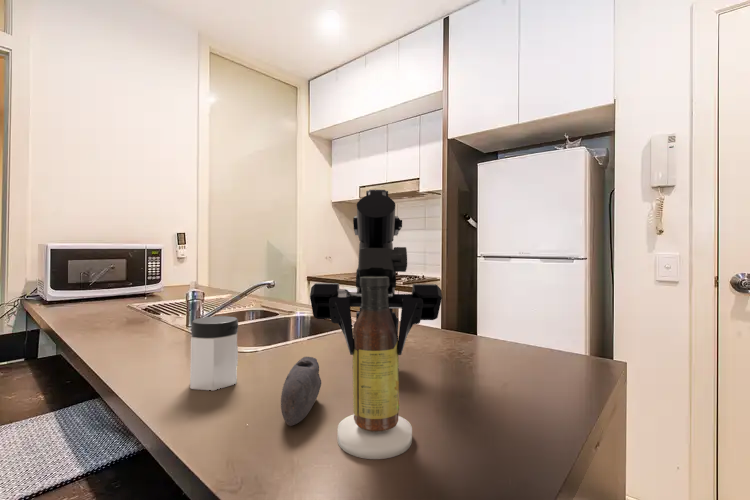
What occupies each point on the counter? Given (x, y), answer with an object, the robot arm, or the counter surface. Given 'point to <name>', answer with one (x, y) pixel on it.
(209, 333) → the jar
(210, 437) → the counter surface
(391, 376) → the sauce bottle
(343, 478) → the counter surface
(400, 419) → the coaster
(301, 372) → the perforated stone tool
